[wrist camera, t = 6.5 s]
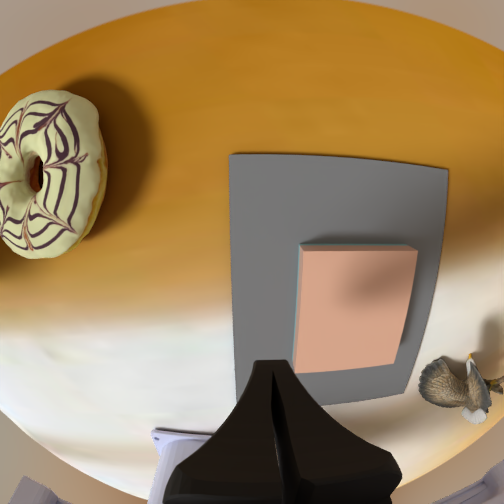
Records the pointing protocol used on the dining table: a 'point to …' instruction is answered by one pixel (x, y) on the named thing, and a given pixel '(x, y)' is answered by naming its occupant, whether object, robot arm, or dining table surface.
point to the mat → (326, 232)
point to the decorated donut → (50, 173)
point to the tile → (350, 305)
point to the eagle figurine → (459, 389)
